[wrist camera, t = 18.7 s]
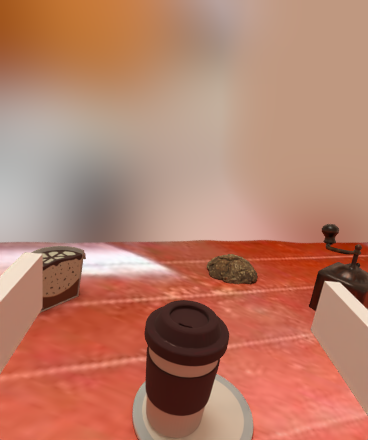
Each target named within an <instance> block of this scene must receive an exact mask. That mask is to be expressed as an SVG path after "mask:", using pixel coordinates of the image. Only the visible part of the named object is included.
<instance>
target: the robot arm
mask: <svg viewBox="0 0 368 440" xmlns="http://www.w3.org/2000/svg"><path fill="white" fill-rule="evenodd" d="M42 302H43V254H38V253H27V252H25V253H24V254H22V255H21V256H20V257H19V258H18V259H17V260H16V261H15V262H14V263H13V264H12V265H11V266H10V267H9V268H8V269H7V270H6V271H5V272H4V273H3V274H2V275H1V276H0V373H1V372H2V370H3V369H4V367H5V366H6V364H7V363H8V361H9V359H10V358H11V356H12V355H13V353H14V352H15V350H16V348H17V347H18V345H19V344H20V342H21V341H22V339H23V337H24V336H25V334H26V333H27V331H28V330H29V328H30V327H31V325H32V323H33V322H34V320H35V319H36V317H37V316H38V314H39V312H40V311H41V309H42ZM311 331H312V333H313V334H314V336H315V337H316V339H317V340H318V342H319V343H320V345H321V346H322V348H323V349H324V351H325V352H326V354H327V355H328V357H329V358H330V360H331V361H332V363H333V364H334V366H335V367H336V369H337V370H338V372H339V373H340V375H341V376H342V378H343V379H344V381H345V382H346V384H347V385H348V387H349V388H350V390H351V391H352V393H353V394H354V396H355V397H356V399H357V400H358V402H359V403H360V405H361V406H362V408H363V409H364V411H365V412H366V414H367V415H368V309H366V308H365V307H364V306H363V305H362V304H361V303H360V302H359V301H358V300H357V299H356V298H355V297H354V296H353V295H352V294H351V293H350V292H349V291H348V290H347V289H346V288H345V287H344V286H343V285H342V284H341V283H340V282H330V281H324V285H323V288H322V292H321V295H320V299H319V302H318V306H317V309H316V313H315V316H314V320H313V323H312V327H311Z"/></svg>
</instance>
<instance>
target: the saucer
mask: <svg viewBox="0 0 368 440" xmlns="http://www.w3.org/2000/svg"><path fill="white" fill-rule="evenodd" d="M145 384H146V381H145V382H144V383H143V384H142V386H141V387H140V388H139V390H138V392H137V394H136V397H135V399H134V404H133V412H132V420H133V427H134V430H135V434H136V436H137V438H138V440H251V438H252V434H253V419H252V414H251V411H250V408H249V406H248V404H247V402H246V400H245V398H244V397H243V395H242V394H241V393H240V392H239V390H238V389H237V388H236V387H235V386H234V385H233V384H231V383H230V382H229V381H227V380H226V379H224V378H223V377H221V376H219V375H218V374H216V377H215V380H214V384H213V387H212V391H211V394H210V398H209V400H208V402H207V404H206V405H205V409H204V412H203V416H202V419H201V423H200V425H199V426H198V428H197V429H196V430H195V431H194V432H193V433H192V434H190V435H188V436H186V437H182V438H169V437H166V436H163V435H161V434H159V433H158V432H157V431H155V430H154V429H153V428H152V426H151V425H150V423H149V421H148V419H147V415H146V400H147V393H146V386H145Z"/></svg>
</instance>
